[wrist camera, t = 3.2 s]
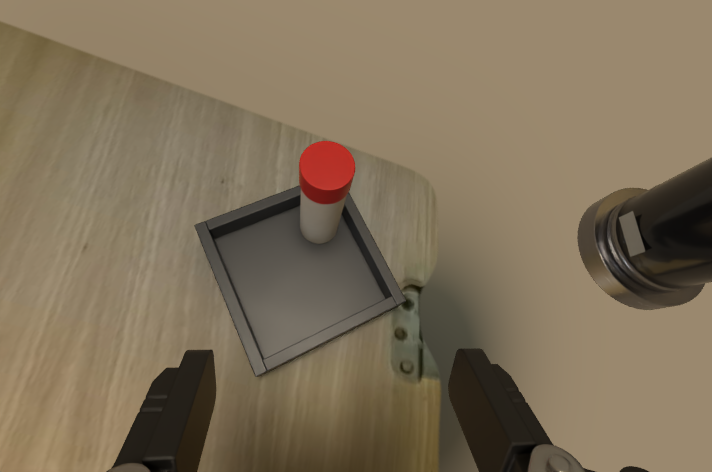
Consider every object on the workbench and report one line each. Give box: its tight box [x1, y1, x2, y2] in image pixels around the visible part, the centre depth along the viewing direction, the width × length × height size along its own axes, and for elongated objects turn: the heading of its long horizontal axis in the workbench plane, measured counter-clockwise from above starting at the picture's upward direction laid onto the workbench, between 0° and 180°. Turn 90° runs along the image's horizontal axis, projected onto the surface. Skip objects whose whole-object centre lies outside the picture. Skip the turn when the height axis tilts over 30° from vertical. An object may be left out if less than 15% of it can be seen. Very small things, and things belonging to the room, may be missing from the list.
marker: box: [299, 141, 355, 244], centre depth 27 cm, size 3×3×10 cm
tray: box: [195, 186, 406, 377], centre depth 29 cm, size 12×12×3 cm
